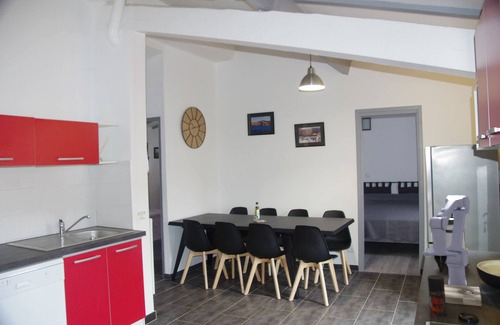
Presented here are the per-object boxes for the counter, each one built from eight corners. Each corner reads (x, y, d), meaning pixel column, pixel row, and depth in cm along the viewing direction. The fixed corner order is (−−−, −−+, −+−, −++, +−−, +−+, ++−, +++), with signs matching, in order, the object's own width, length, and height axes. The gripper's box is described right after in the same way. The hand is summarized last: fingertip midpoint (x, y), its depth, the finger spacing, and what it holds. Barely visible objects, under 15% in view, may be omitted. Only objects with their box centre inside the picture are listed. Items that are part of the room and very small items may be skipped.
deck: (438, 289, 190) (438, 284, 190) (479, 292, 182) (479, 287, 182) (437, 301, 174) (436, 296, 174) (481, 306, 166) (481, 300, 166)
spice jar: (427, 312, 163) (424, 276, 163) (438, 310, 165) (435, 274, 165) (438, 317, 158) (435, 280, 158) (449, 314, 160) (447, 277, 160)
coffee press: (438, 260, 241) (435, 211, 241) (468, 261, 234) (464, 211, 234) (438, 267, 226) (434, 215, 226) (470, 269, 219) (466, 215, 219)
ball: (462, 291, 178) (464, 299, 177) (465, 291, 175) (468, 299, 174) (469, 290, 178) (471, 297, 177) (472, 290, 175) (475, 298, 174)
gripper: (422, 244, 185) (424, 273, 185) (457, 245, 178) (459, 275, 178) (423, 241, 191) (425, 269, 191) (457, 242, 184) (459, 271, 184)
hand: (441, 271), depth 185 cm, fingers closed
